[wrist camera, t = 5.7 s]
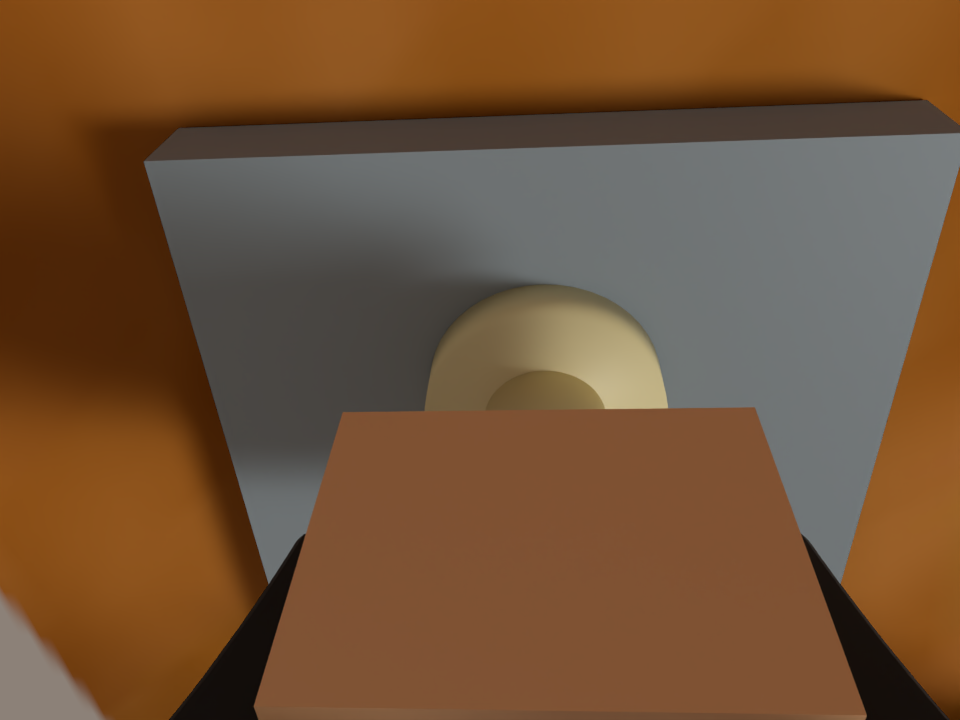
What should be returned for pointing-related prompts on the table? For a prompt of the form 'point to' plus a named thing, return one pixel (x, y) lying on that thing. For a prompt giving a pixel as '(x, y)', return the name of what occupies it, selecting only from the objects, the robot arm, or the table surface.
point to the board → (560, 279)
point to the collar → (555, 575)
